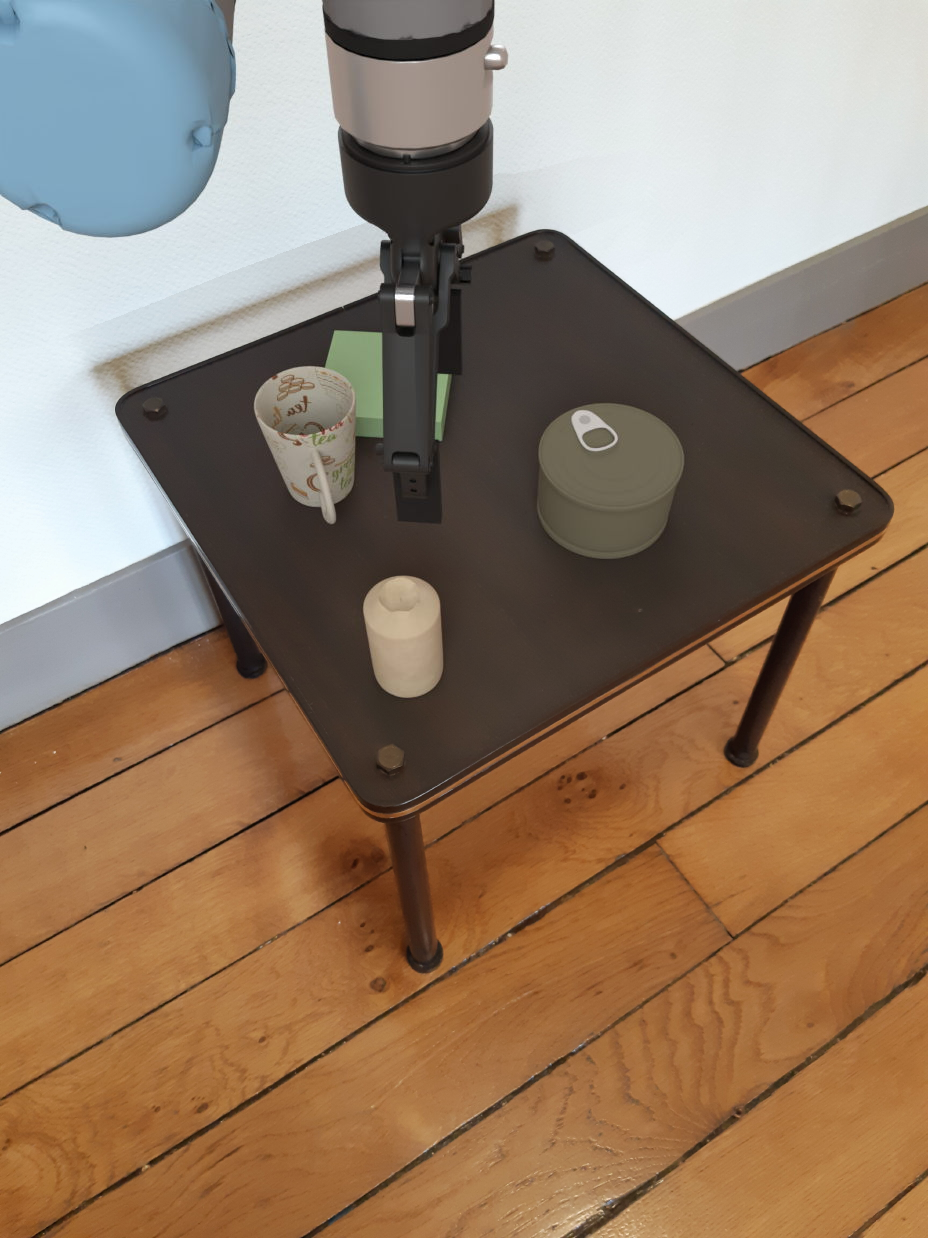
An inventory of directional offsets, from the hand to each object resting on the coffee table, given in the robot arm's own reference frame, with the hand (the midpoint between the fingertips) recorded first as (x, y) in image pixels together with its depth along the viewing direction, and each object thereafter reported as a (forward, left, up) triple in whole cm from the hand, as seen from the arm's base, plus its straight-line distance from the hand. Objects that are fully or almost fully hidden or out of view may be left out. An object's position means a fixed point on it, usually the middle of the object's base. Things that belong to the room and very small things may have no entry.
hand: (432, 440), depth 62 cm
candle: (-2, -6, -19) cm, 20 cm away
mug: (-11, +11, -19) cm, 24 cm away
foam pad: (-8, +25, -19) cm, 32 cm away
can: (+13, +12, -19) cm, 26 cm away
